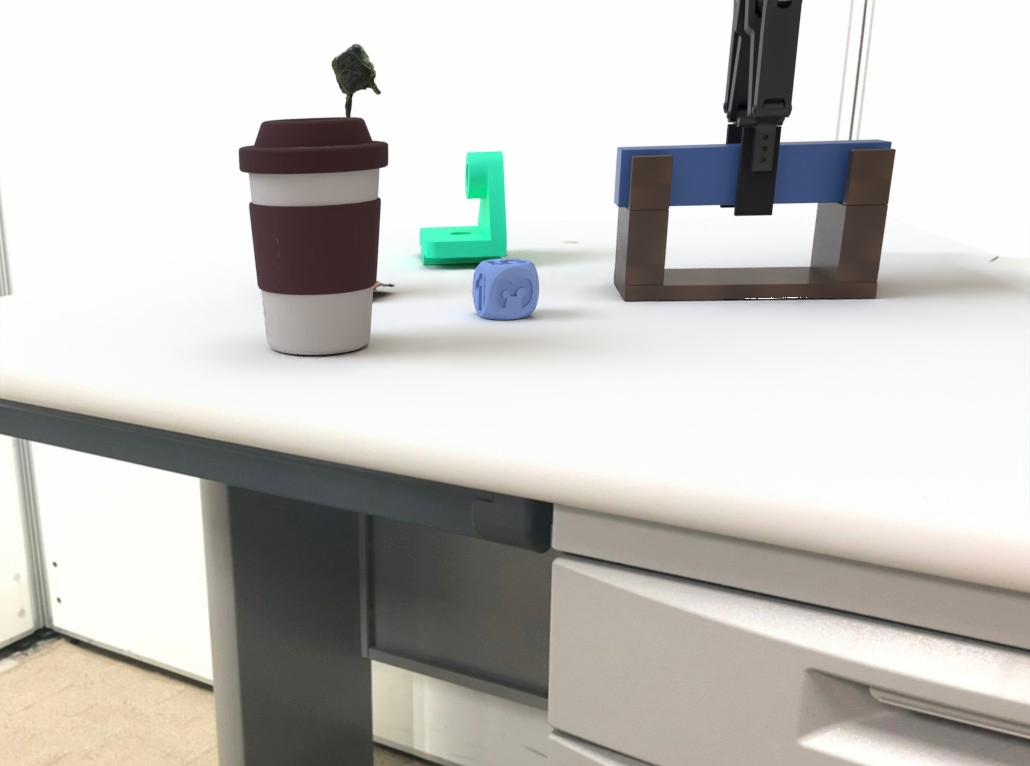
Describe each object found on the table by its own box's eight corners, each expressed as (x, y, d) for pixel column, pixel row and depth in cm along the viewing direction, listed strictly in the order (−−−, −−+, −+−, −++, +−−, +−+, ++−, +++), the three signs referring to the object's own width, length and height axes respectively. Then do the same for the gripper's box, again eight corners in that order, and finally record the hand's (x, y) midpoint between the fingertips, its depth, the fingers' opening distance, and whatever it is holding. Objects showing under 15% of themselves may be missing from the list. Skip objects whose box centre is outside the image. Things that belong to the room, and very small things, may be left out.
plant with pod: (302, 284, 110) (294, 48, 102) (408, 292, 103) (407, 41, 96) (247, 298, 104) (234, 48, 96) (355, 307, 97) (350, 41, 90)
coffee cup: (255, 333, 89) (244, 119, 83) (388, 330, 88) (387, 114, 83) (241, 362, 80) (229, 124, 74) (390, 359, 79) (389, 118, 73)
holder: (844, 280, 101) (863, 142, 97) (875, 298, 93) (897, 149, 89) (613, 283, 104) (621, 150, 100) (623, 301, 96) (633, 156, 92)
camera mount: (418, 253, 126) (419, 150, 122) (491, 250, 125) (494, 147, 122) (426, 270, 115) (426, 157, 111) (506, 267, 114) (509, 154, 110)
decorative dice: (471, 312, 93) (472, 260, 92) (520, 308, 94) (522, 257, 93) (487, 321, 90) (488, 267, 88) (538, 317, 90) (540, 264, 89)
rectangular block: (870, 197, 96) (878, 139, 94) (883, 201, 92) (892, 141, 91) (613, 203, 99) (617, 147, 97) (617, 207, 96) (621, 149, 94)
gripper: (703, -98, 96) (679, 200, 105) (749, -134, 79) (716, 225, 88) (801, -104, 95) (769, 198, 104) (869, -142, 78) (823, 223, 87)
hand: (745, 210), depth 96 cm, fingers open, 5 cm apart
